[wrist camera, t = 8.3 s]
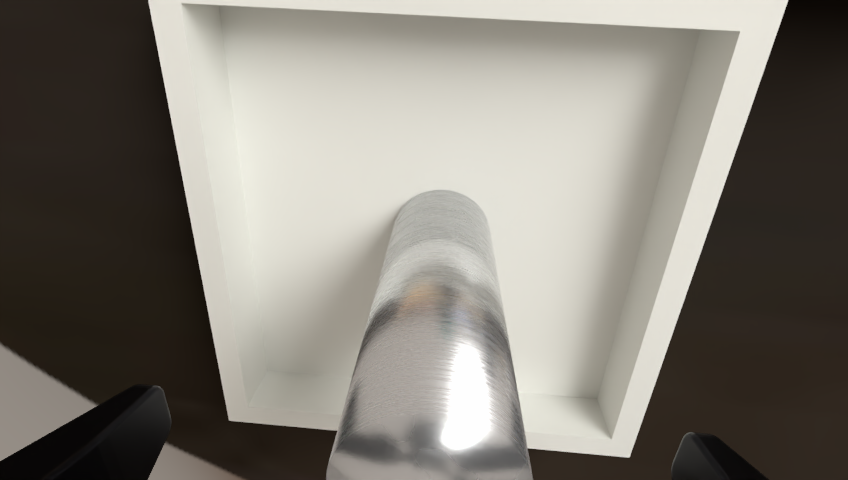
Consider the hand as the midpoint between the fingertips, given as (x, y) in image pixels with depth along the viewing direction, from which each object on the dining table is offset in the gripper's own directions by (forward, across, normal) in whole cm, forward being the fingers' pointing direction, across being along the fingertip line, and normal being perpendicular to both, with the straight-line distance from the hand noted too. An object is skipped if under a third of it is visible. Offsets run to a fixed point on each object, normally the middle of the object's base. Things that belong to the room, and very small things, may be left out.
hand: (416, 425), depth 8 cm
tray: (+9, 0, 0) cm, 9 cm away
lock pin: (+8, 0, 0) cm, 8 cm away
